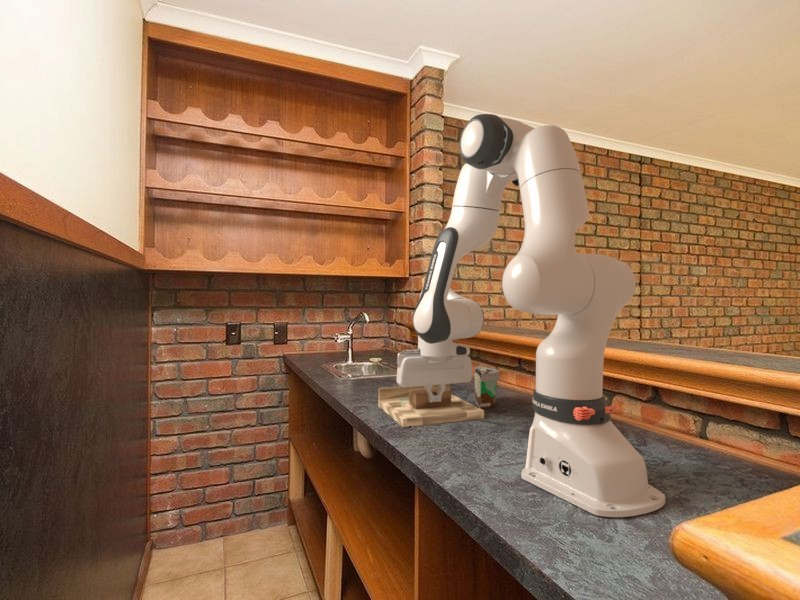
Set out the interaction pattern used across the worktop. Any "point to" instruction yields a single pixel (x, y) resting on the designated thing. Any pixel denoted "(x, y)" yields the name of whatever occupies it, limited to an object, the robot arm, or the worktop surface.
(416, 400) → the block
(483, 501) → the worktop surface
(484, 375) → the food container
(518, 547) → the worktop surface
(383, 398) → the wooden frame
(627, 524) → the worktop surface
